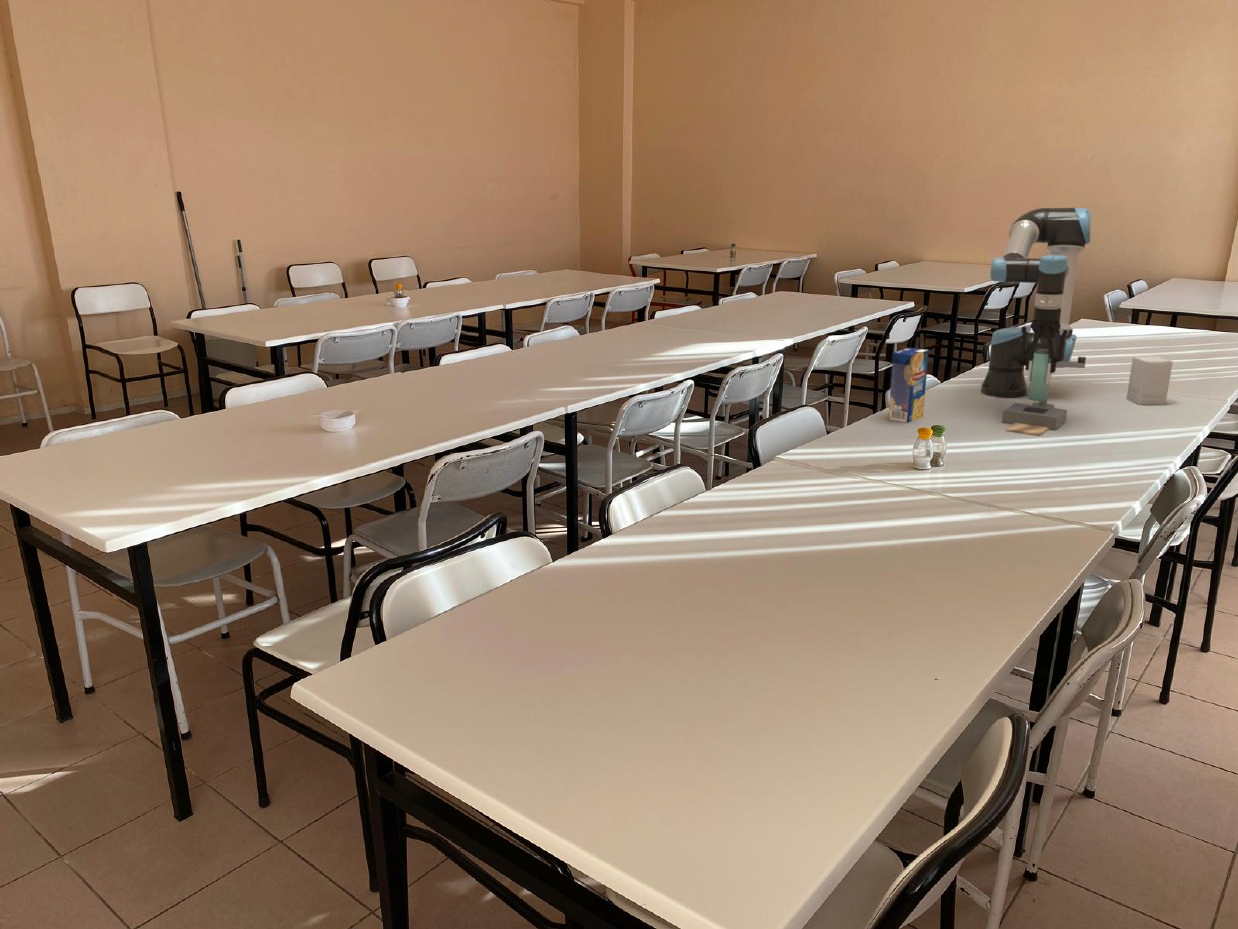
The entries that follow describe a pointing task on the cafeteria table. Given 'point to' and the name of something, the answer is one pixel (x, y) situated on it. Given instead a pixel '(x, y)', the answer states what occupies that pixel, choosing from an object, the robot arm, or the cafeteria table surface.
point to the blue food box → (908, 384)
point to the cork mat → (1027, 429)
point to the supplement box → (1149, 380)
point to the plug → (1039, 375)
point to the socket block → (1035, 414)
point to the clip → (1072, 363)
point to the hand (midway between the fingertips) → (1038, 381)
